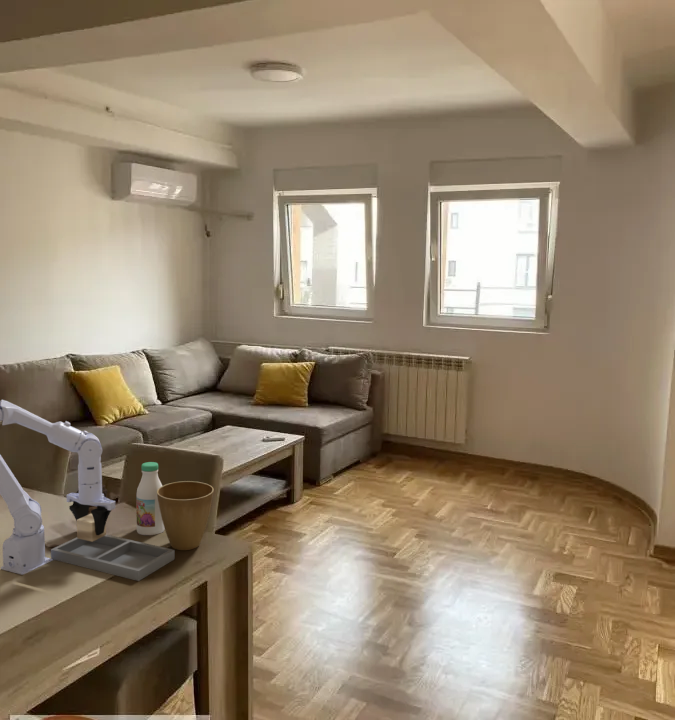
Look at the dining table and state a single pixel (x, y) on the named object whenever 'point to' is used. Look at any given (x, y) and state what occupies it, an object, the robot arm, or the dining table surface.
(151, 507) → the milk bottle
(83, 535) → the maple cube
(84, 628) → the dining table surface
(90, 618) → the dining table surface
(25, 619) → the dining table surface
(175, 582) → the dining table surface
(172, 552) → the tray
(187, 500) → the plant pot
